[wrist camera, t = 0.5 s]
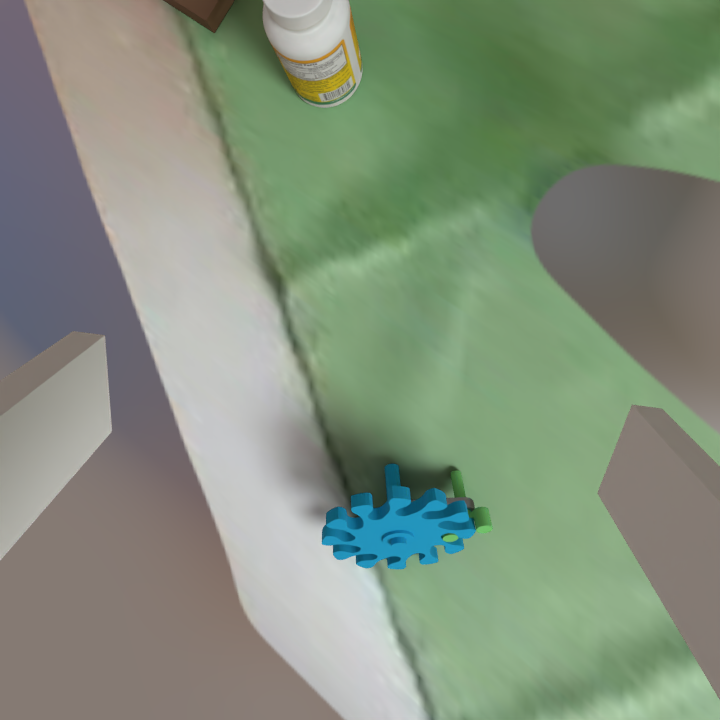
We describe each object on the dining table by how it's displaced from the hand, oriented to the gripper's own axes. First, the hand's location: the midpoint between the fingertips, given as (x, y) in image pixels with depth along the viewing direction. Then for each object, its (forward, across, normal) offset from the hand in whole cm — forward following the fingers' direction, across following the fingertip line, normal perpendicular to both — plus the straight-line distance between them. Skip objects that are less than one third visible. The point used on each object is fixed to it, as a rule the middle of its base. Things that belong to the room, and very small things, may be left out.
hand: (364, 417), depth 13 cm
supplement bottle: (+32, -5, +10) cm, 34 cm away
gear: (+19, +5, -18) cm, 27 cm away
